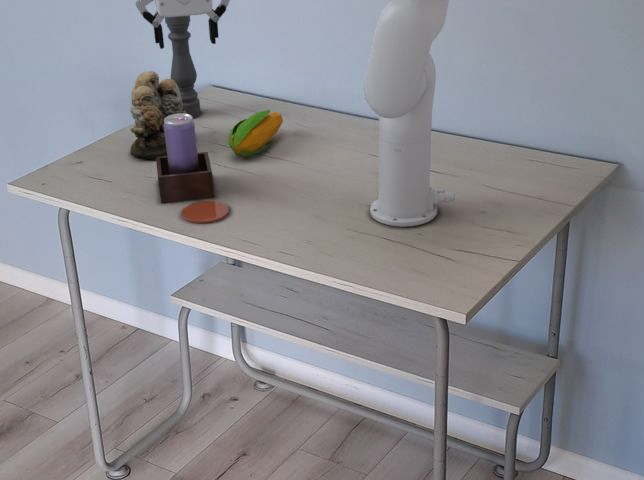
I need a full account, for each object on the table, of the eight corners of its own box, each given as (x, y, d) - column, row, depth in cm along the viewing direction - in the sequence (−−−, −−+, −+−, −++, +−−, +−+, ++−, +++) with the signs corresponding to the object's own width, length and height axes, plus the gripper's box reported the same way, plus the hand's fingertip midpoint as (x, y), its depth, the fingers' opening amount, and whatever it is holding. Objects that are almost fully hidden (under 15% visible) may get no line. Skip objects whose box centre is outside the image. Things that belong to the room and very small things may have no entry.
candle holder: (171, 118, 241) (159, 11, 228) (178, 109, 246) (166, 3, 233) (197, 119, 240) (186, 11, 227) (203, 110, 245) (193, 3, 232)
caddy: (210, 176, 212) (207, 151, 209) (214, 197, 204) (211, 171, 201) (159, 181, 211) (155, 156, 208) (161, 203, 202) (157, 177, 199)
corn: (218, 126, 215) (264, 95, 229) (219, 159, 219) (264, 127, 234) (249, 133, 212) (293, 101, 227) (249, 167, 216) (293, 133, 231)
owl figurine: (163, 166, 218) (153, 87, 209) (116, 159, 222) (105, 82, 213) (204, 135, 231) (197, 61, 222) (159, 129, 236) (150, 56, 226)
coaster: (226, 201, 202) (226, 198, 202) (230, 220, 194) (230, 218, 194) (180, 205, 201) (180, 203, 201) (183, 225, 194) (183, 223, 193)
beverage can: (196, 196, 204) (188, 124, 196) (167, 195, 206) (158, 123, 197) (204, 184, 209) (197, 113, 201) (176, 182, 210) (168, 112, 202)
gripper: (131, -44, 177) (142, 54, 187) (230, -51, 180) (236, 46, 189) (128, -53, 183) (139, 42, 193) (223, -60, 186) (230, 34, 196)
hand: (187, 44), depth 191 cm, fingers open, 9 cm apart
